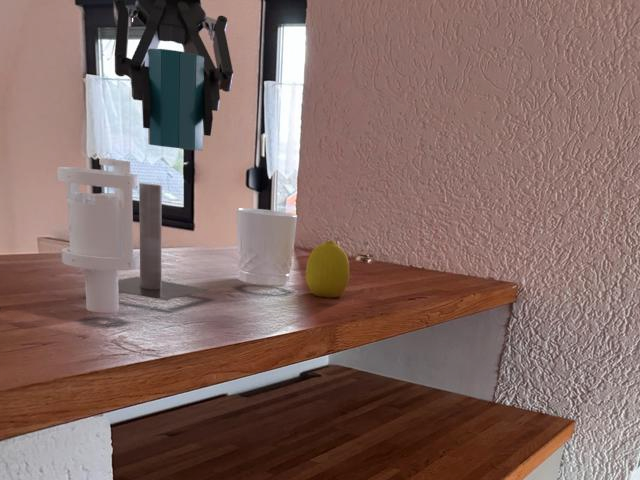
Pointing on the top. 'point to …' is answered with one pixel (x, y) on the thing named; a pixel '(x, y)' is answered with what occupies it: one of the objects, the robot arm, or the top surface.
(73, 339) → the top surface
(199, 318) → the top surface
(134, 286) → the grey peg stand
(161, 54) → the ring sleeve
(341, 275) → the lemon
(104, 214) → the white stepped cylinder
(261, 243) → the white cup
